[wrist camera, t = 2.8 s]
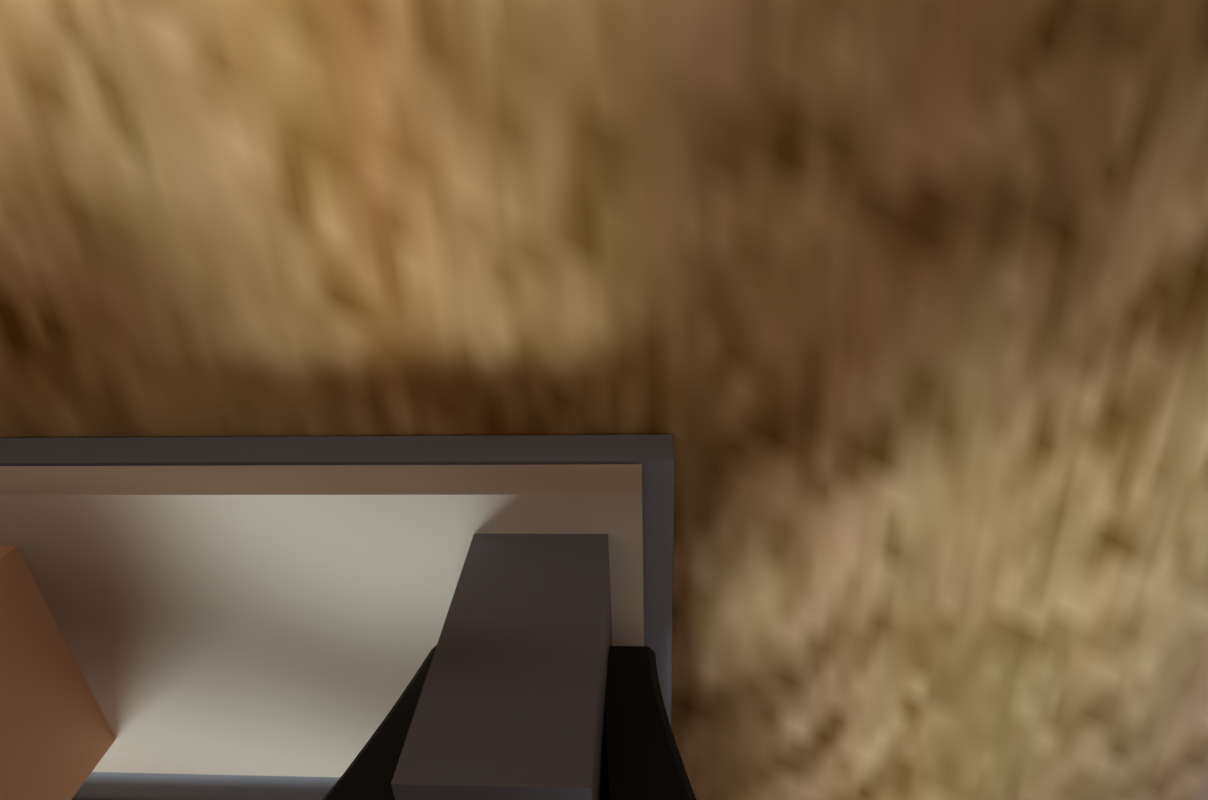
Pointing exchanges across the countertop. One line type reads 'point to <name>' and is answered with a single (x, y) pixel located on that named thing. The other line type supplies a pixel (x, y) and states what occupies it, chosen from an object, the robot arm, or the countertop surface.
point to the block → (41, 697)
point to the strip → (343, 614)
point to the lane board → (290, 796)
